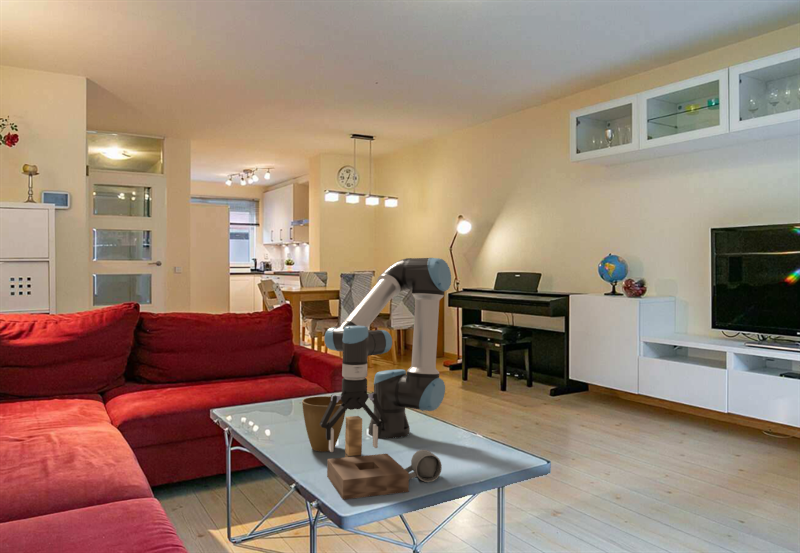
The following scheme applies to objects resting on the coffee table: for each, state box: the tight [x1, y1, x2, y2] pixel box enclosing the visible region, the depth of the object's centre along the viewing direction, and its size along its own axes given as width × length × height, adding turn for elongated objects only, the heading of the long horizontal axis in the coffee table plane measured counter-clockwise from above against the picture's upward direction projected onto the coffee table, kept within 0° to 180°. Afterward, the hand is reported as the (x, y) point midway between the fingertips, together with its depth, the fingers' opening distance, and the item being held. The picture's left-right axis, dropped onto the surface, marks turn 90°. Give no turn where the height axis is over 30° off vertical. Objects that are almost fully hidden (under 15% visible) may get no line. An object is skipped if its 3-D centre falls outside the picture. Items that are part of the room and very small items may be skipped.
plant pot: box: [301, 395, 346, 452], centre depth 191 cm, size 15×15×16 cm
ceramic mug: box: [404, 449, 442, 483], centre depth 164 cm, size 11×8×8 cm
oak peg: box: [344, 415, 363, 457], centre depth 172 cm, size 4×4×15 cm
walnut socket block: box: [326, 453, 410, 500], centre depth 159 cm, size 18×18×5 cm
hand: (353, 448), depth 172 cm, fingers open, 13 cm apart
